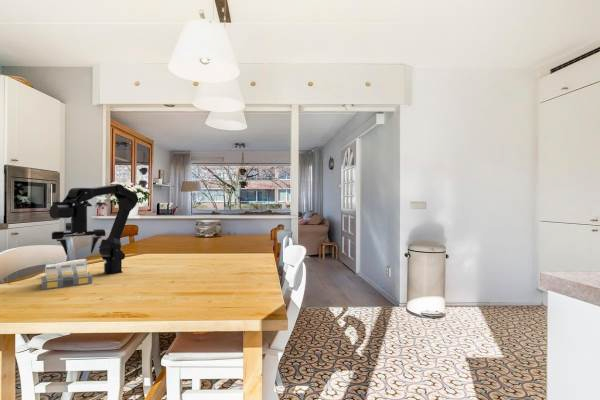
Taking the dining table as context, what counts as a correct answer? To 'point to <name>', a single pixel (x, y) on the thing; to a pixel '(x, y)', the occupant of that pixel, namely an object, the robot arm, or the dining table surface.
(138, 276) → the dining table surface
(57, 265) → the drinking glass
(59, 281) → the pill organizer box
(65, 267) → the switch
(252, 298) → the dining table surface
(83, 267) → the switch
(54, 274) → the switch
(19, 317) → the dining table surface
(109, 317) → the dining table surface
